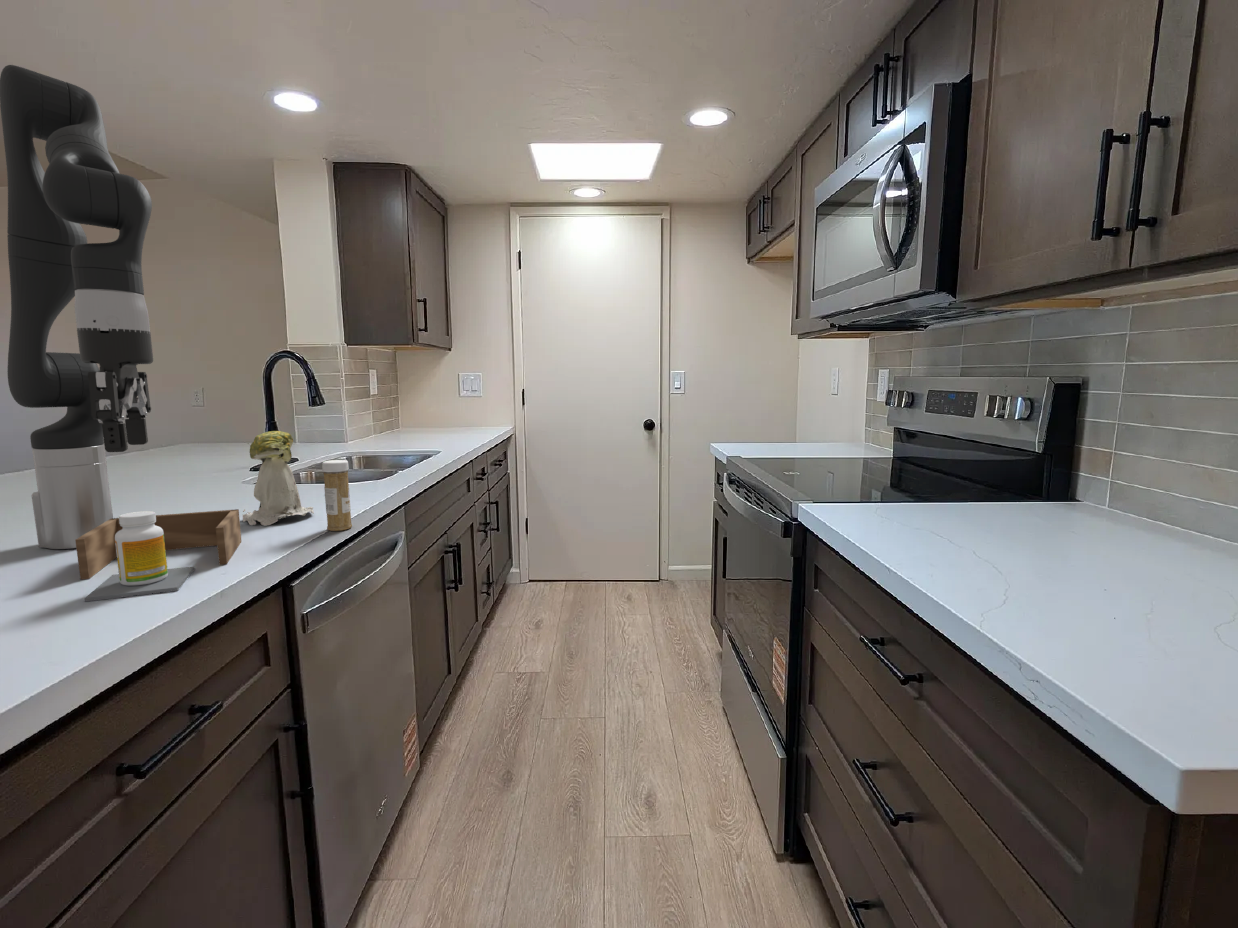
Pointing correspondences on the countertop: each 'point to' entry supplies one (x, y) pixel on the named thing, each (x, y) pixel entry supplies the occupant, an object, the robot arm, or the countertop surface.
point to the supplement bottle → (140, 549)
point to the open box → (178, 534)
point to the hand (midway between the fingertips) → (127, 448)
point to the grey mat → (117, 590)
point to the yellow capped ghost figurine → (274, 479)
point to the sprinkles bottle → (337, 495)
